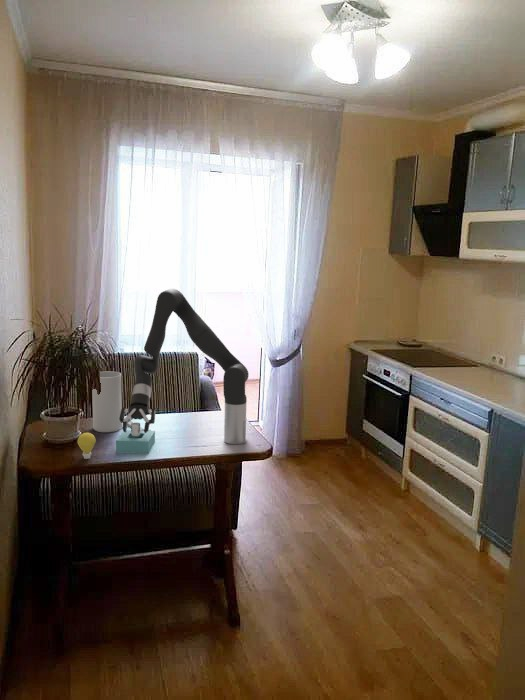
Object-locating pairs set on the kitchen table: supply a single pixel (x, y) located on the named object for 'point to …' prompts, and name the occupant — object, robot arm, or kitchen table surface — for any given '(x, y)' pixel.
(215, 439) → the kitchen table surface
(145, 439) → the socket block
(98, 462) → the kitchen table surface
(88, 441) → the light bulb
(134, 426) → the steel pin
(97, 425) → the cylinder vase
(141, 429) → the adjustable wrench
